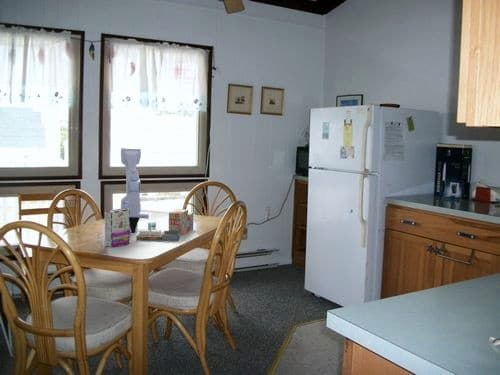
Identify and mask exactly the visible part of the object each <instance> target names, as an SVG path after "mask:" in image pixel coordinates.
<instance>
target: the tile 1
mask: <svg viewBox="0 0 500 375" xmlns="http://www.w3.org/2000/svg"><path fill="white" fill-rule="evenodd" d="M138 231H139V232H138V234H139V235H149V234H150V232H151V229H144V228H142V229H139V230H138Z"/></svg>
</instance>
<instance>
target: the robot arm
mask: <svg viewBox="0 0 500 375" xmlns="http://www.w3.org/2000/svg"><path fill="white" fill-rule="evenodd" d="M141 153H142V152H141V148H140V147H124V146H123V147H121V148H120V159H121V160H120V161H121V164H122V165H124V167H125V177H126V178H125V179H126V180H125V183H126V184H125V185H126V186H125V187H126V190H125V192H126V193H125V194H126V195H124V197H122V199H121V201H120V209H122V208H125V209H130V233H132V234H135V233H139V232H138V231H140V228H139V226H138V224H139V221H140V219H146V220H148V219H149V217H150V216H149V214H148V213H147V214H146V213H141V209H142V208H141V206H142V205H141V200H140V199H141V198H140V196H141V191H142V183H141V180H140V175H139V171H138V170H137V165H139V164H140V161H141V159H142V158H141V157H142V156H141V155H142V154H141Z"/></svg>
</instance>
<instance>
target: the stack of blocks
mask: <svg viewBox="0 0 500 375" xmlns="http://www.w3.org/2000/svg"><path fill="white" fill-rule="evenodd" d="M193 229H194V212H189V209H182V208H181V209H179V208H177V209H174V210H172V211H169V212H168V231H180V237H182V236H183V235H186V234H187V233H188V232H190V231H192V230H193Z"/></svg>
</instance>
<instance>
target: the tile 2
mask: <svg viewBox="0 0 500 375" xmlns="http://www.w3.org/2000/svg"><path fill="white" fill-rule="evenodd" d="M150 232H151V235H157V236H160V235H161V232H162V229H150Z"/></svg>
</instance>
